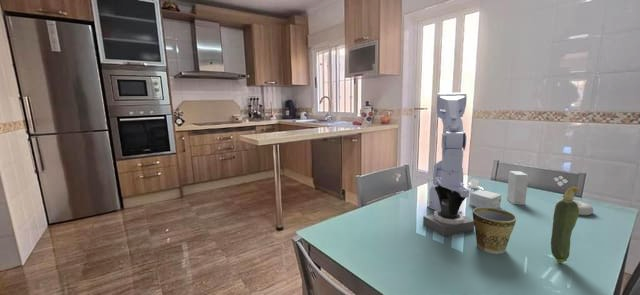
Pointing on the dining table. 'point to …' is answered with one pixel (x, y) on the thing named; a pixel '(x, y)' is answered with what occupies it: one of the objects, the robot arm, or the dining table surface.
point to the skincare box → (517, 187)
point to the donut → (583, 208)
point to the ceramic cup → (493, 228)
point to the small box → (485, 199)
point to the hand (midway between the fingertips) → (448, 211)
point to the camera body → (448, 224)
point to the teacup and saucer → (473, 185)
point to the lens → (446, 209)
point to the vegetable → (564, 225)
